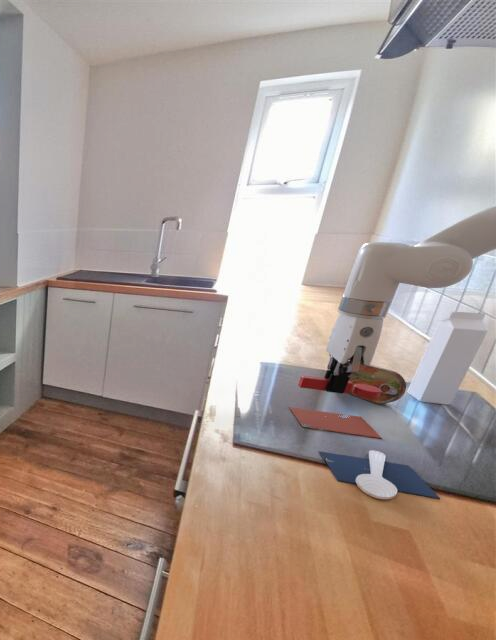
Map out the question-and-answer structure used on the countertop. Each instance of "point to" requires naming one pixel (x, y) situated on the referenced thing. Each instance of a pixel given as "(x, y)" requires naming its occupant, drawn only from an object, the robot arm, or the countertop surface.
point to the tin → (380, 383)
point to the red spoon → (358, 389)
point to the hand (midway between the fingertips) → (332, 389)
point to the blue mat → (406, 482)
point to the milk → (448, 357)
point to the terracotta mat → (334, 422)
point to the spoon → (376, 478)
